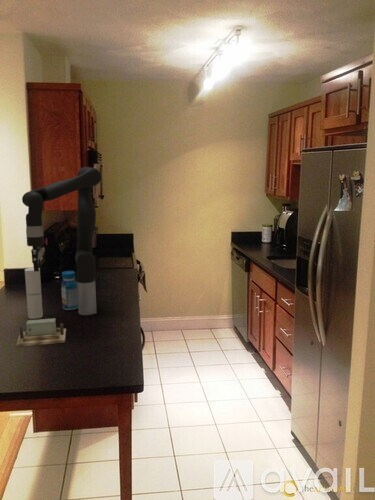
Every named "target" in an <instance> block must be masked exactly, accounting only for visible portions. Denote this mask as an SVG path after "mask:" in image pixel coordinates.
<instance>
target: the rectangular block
mask: <svg viewBox="0 0 375 500" xmlns="http://www.w3.org/2000/svg"><path fill="white" fill-rule="evenodd" d="M25 326H26V330H27V337H30V336H42V335H54V334H56V328H57V321H56V318H54V317H53V318H44V319H43V318H41V319H40V318H39V319H29V320H27V321H26V324H25Z"/></svg>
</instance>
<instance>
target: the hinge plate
mask: <svg viewBox="0 0 375 500" xmlns="http://www.w3.org/2000/svg"><path fill="white" fill-rule="evenodd" d="M66 334H67V328H64V323H63V322H61V323H59V327H56V334H54V335H42V336H30V337H27V329H25V331H24V327H23V326H19V335H18V337H17V342H16V345H15V347H16V348H17V347H18V348H20V347H28V346H40V345H41V346H42V345H52V344H53V345H54V344H64V343H66Z"/></svg>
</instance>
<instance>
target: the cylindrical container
mask: <svg viewBox="0 0 375 500" xmlns="http://www.w3.org/2000/svg"><path fill="white" fill-rule="evenodd" d="M24 279H25V289H26V290H25V291H26V292H25V293H26V304H27V305H26V306H27V318H28V319H29V320H39V319H40V318H41V319H42V318H43V316H44V313H43V297H42V296H43V295H42V283H41V281H42V280H41V267H39V271H34V267H27V268H25V269H24Z"/></svg>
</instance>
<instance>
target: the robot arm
mask: <svg viewBox="0 0 375 500" xmlns="http://www.w3.org/2000/svg"><path fill="white" fill-rule="evenodd" d="M101 180H102V174H101V172H100V170H99V169H97V168H95V167H90V166H89V167H88V166H84V167H81V168H80V169H79V170H78V172H77V175H76V176H74V177H72V178H71V177H70V178H69V179H63V180H60V181H55V182H53V183H50V184H48V185H46V186H44V187H43V186H42V187H41V188H36V189H33V190H29V191H27V192H25V193H24V194H23V196H22V198H21V201H22V203H23V205H24V206H26V207H28V210H27V211H28V212H27V213H26V215H25V224H26V225H25V227H26V228H25V229H26V230H25V233H26V245H27V247H32V249H31V250H30V253H31V263H32V265H33V268H34V271H39V268H41V266H42V265H41V264H42V263H41V258H42V249H41V246H43V245H45V239H44V238H45V237H44V228H43V218H42V215H43V209H44V202H51V201H53V200H56V199H58V198H60V197H63V196H65V195H67V194H68V195H69V194H71V193H73V192H75V191H77V216H76V231H77V232H76V233H77V242H76V243H77V245H76V250H75V251H76V252H75V258H74V259H75V263H76V282H77V297H78V308H77V309H78V311H77V313H78V315H80V316H81V315H82V316H92V315H95V314H98V313H97V296H96V258H95V255H94V254H93V237H94V234H95V228H96V218H97V212H96V207H95V204H94V201H93V200H94V199H93V196H92V189H93V187H95V186H98V185H99V184H100V183H101Z"/></svg>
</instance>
